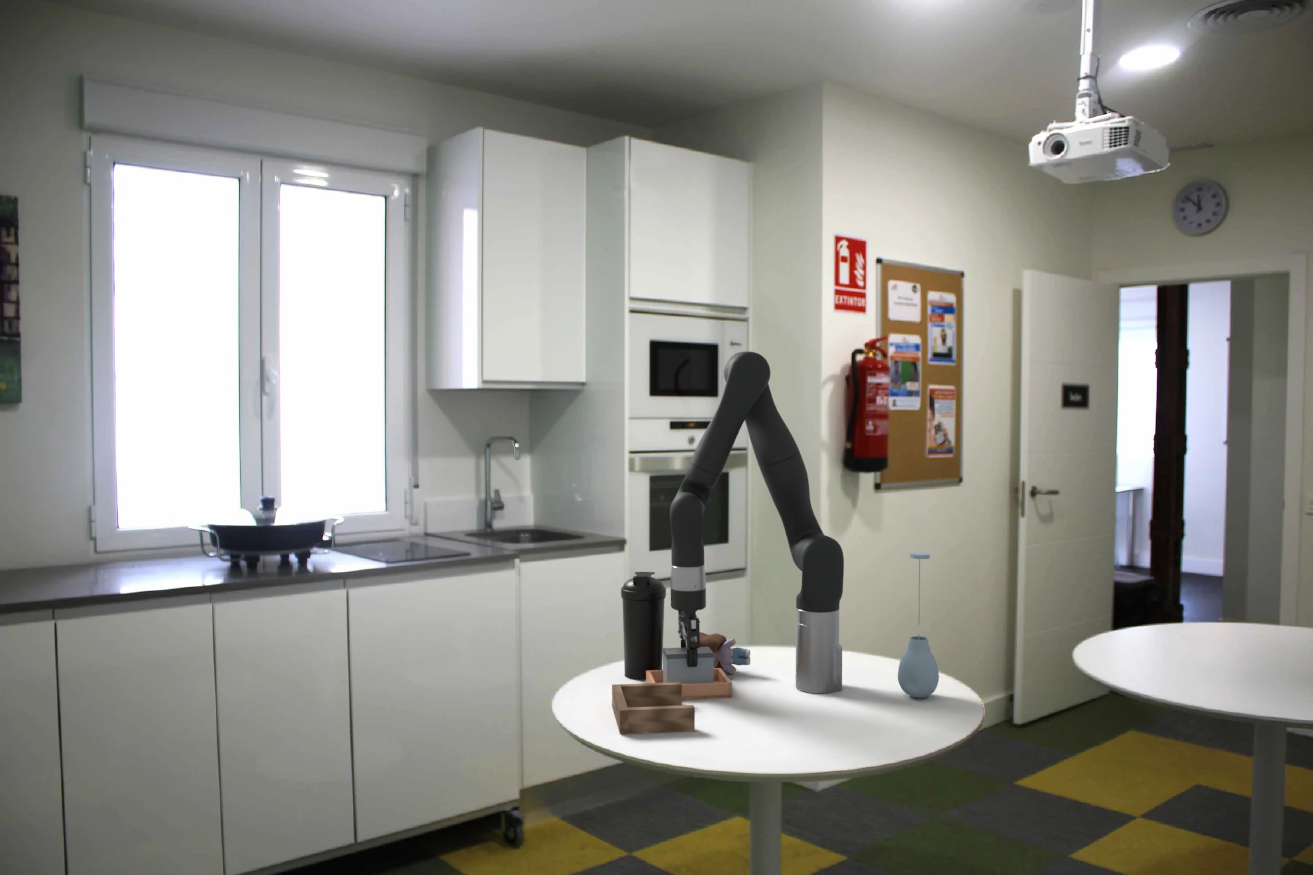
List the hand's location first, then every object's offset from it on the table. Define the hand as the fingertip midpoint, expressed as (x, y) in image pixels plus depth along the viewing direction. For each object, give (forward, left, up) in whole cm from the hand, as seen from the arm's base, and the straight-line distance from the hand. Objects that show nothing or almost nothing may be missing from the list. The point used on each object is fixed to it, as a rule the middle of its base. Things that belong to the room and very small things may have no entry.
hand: (689, 661), depth 208 cm
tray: (0, 0, -6) cm, 6 cm away
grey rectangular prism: (0, 0, -6) cm, 6 cm away
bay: (+10, +18, -6) cm, 21 cm away
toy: (-9, -13, -7) cm, 17 cm away
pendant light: (-47, +11, -6) cm, 48 cm away
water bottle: (+8, -13, -6) cm, 17 cm away
